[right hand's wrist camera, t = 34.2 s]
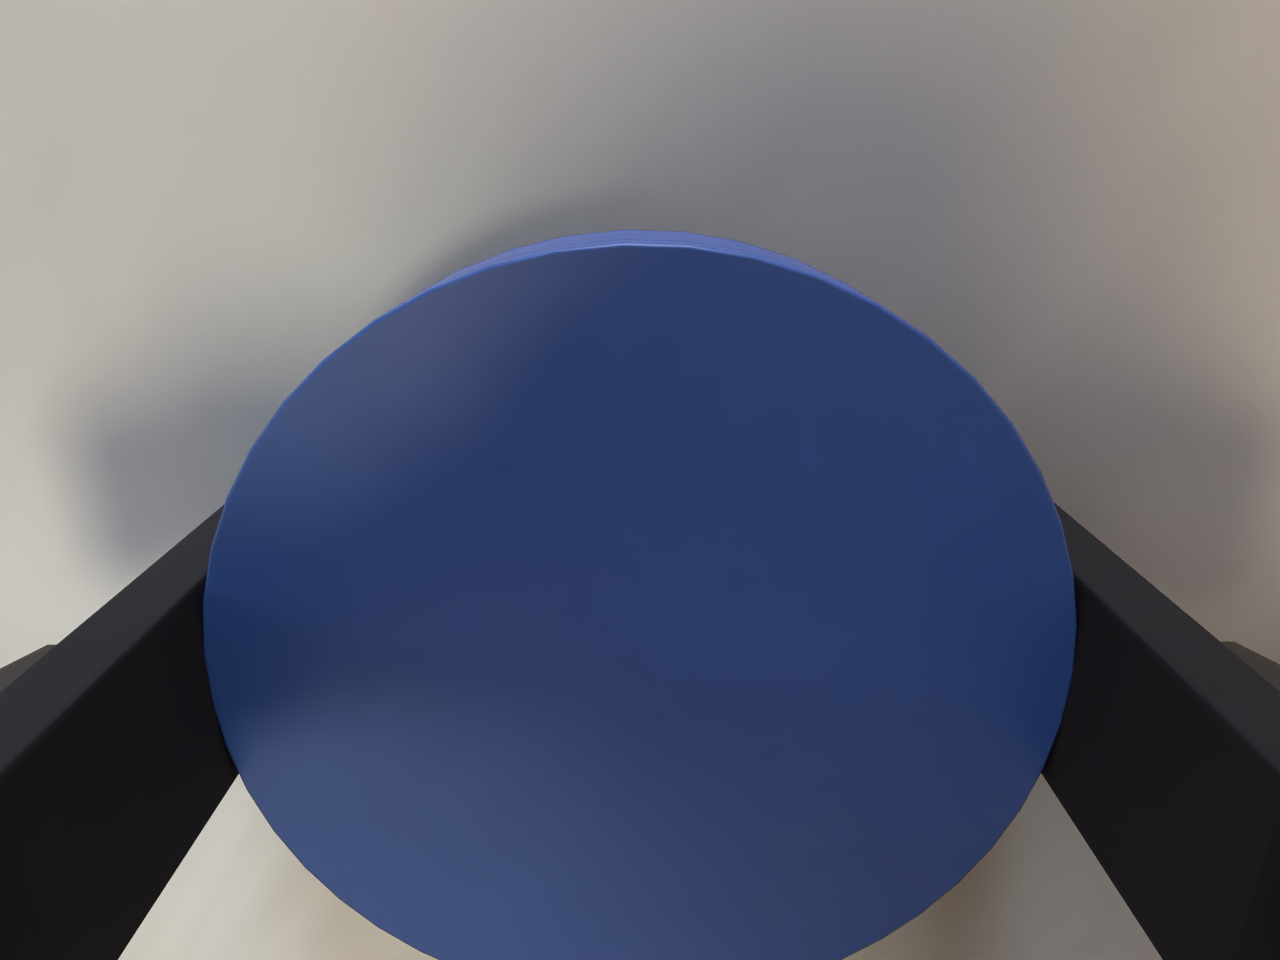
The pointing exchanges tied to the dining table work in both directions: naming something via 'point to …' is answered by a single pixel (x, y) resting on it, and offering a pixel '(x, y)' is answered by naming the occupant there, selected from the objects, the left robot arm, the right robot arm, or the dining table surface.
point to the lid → (639, 611)
